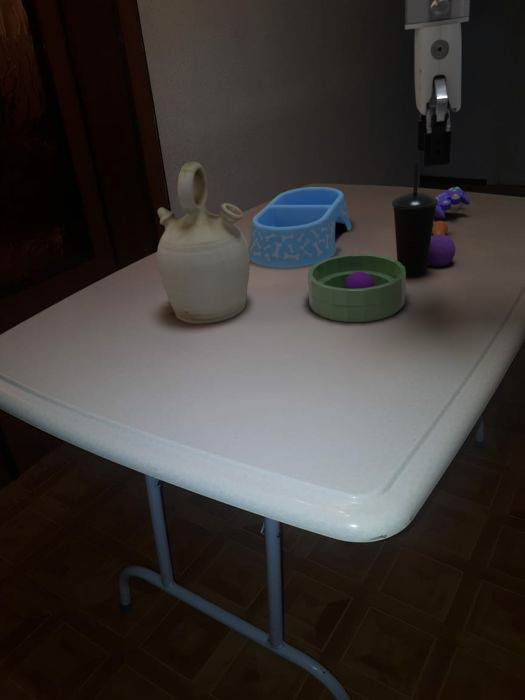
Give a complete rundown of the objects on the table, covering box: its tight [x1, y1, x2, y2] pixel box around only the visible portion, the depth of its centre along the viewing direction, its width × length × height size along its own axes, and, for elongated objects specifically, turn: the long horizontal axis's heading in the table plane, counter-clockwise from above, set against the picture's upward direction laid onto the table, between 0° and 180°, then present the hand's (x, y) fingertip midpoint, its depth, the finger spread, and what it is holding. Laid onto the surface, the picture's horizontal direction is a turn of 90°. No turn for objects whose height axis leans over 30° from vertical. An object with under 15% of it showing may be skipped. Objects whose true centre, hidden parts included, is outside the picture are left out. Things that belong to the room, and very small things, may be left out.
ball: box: [344, 271, 374, 289], centre depth 92 cm, size 5×5×5 cm
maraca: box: [427, 220, 456, 268], centre depth 109 cm, size 6×6×20 cm
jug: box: [156, 161, 251, 324], centre depth 91 cm, size 15×16×25 cm
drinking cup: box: [391, 161, 438, 278], centre depth 97 cm, size 8×8×20 cm
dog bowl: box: [248, 186, 352, 269], centre depth 122 cm, size 34×19×8 cm, turn 161°
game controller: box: [434, 185, 471, 223], centre depth 128 cm, size 10×8×10 cm
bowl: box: [307, 253, 407, 323], centre depth 92 cm, size 16×16×6 cm
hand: (432, 156), depth 76 cm, fingers open, 9 cm apart
